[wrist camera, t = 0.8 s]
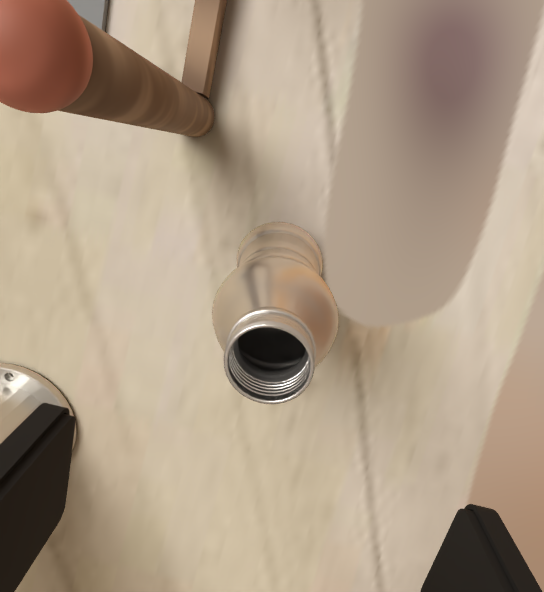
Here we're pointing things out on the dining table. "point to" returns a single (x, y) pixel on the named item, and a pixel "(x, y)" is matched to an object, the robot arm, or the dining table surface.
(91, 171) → the dining table surface
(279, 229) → the silver metal bottle
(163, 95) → the brown piece
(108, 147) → the dining table surface
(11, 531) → the robot arm
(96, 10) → the mat
